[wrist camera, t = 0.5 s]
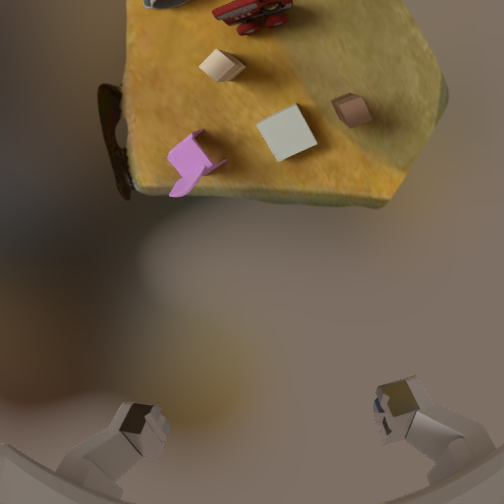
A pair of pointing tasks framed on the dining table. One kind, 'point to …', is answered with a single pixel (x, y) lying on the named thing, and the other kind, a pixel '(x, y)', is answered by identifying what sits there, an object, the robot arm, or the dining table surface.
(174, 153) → the toy chair
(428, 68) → the dining table surface
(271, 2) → the toy fire truck
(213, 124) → the dining table surface
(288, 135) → the pedestal block
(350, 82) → the dining table surface
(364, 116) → the walnut block
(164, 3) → the ceramic mug
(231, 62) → the maple block
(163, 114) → the dining table surface
